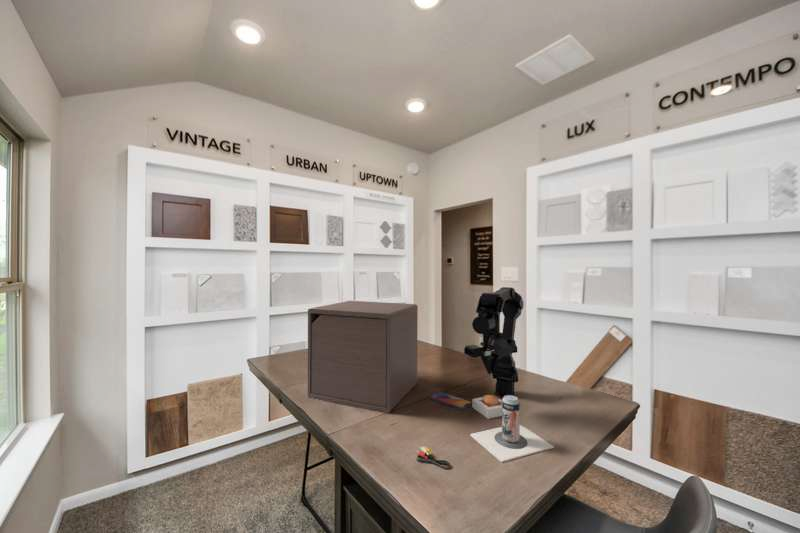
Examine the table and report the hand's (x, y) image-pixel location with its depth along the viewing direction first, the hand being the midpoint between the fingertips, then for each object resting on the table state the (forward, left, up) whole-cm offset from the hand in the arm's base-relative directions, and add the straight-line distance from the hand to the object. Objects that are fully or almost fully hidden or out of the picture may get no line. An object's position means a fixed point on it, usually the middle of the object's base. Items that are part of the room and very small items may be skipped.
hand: (490, 373), depth 111 cm
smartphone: (+9, -12, -14) cm, 20 cm away
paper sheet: (+7, +18, -13) cm, 23 cm away
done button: (0, 0, -11) cm, 11 cm away
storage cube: (+36, -33, -13) cm, 51 cm away
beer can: (+7, +18, -13) cm, 23 cm away
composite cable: (+33, +18, -14) cm, 40 cm away
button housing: (0, 0, -13) cm, 13 cm away
